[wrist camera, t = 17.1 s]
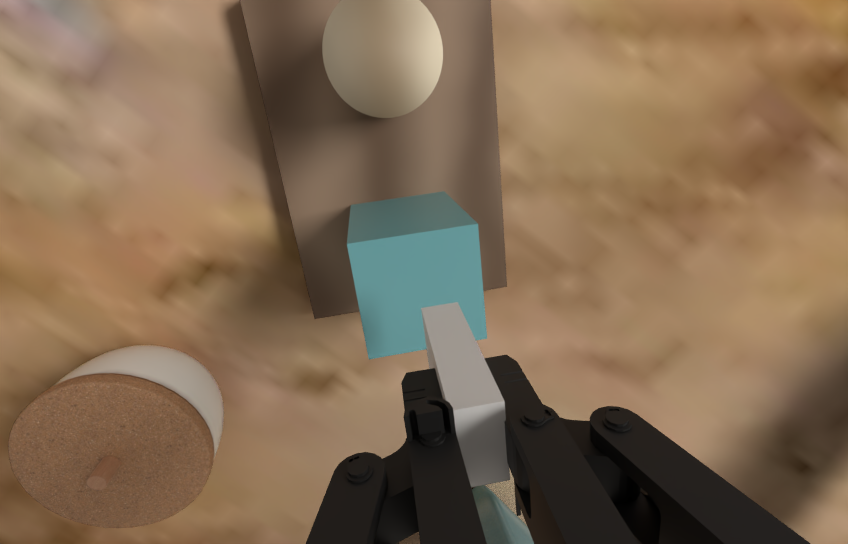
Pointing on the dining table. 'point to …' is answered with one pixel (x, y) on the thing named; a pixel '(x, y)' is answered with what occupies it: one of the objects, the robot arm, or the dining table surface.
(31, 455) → the lidded jar
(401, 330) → the teal rectangular block
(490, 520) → the flower pot
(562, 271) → the dining table surface
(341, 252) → the base board
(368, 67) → the cream smooth rounded part
